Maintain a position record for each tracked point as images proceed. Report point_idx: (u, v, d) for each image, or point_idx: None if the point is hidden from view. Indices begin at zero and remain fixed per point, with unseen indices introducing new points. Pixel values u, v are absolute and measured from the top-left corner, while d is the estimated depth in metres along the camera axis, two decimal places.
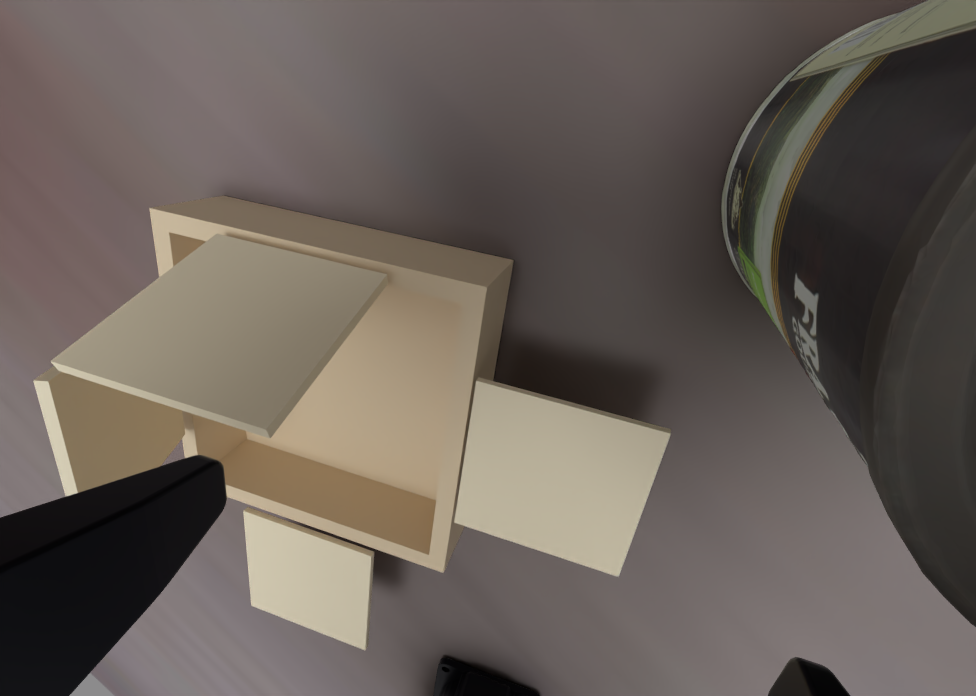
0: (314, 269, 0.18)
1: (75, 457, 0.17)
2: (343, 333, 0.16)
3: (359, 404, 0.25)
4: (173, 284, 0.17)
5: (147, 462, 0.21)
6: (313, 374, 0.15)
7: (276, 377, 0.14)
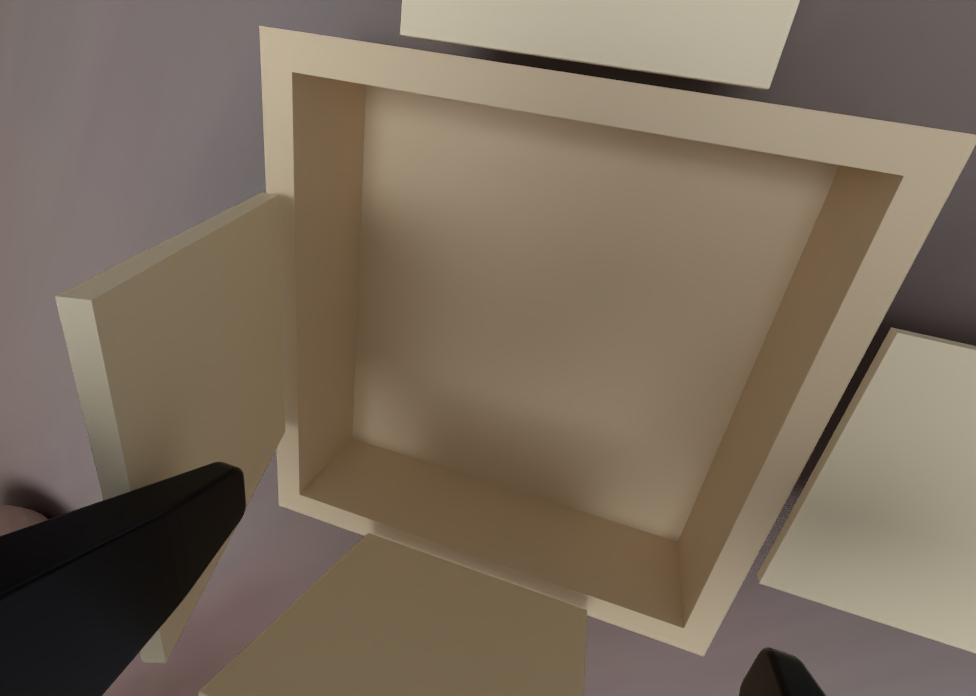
0: None
1: None
2: (209, 222, 0.10)
3: (596, 330, 0.15)
4: None
5: (546, 673, 0.12)
6: (164, 248, 0.08)
7: None
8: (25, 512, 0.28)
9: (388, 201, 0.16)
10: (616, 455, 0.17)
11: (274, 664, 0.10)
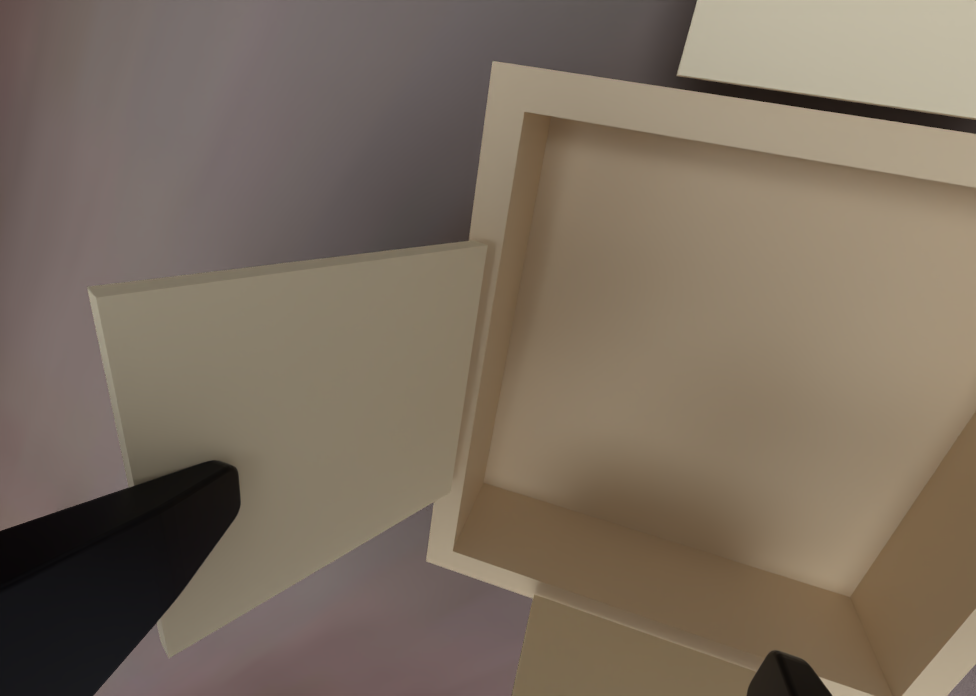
0: None
1: None
2: (357, 255, 0.09)
3: (788, 378, 0.14)
4: None
5: None
6: (263, 269, 0.08)
7: None
8: None
9: (560, 239, 0.14)
10: (791, 507, 0.16)
11: None
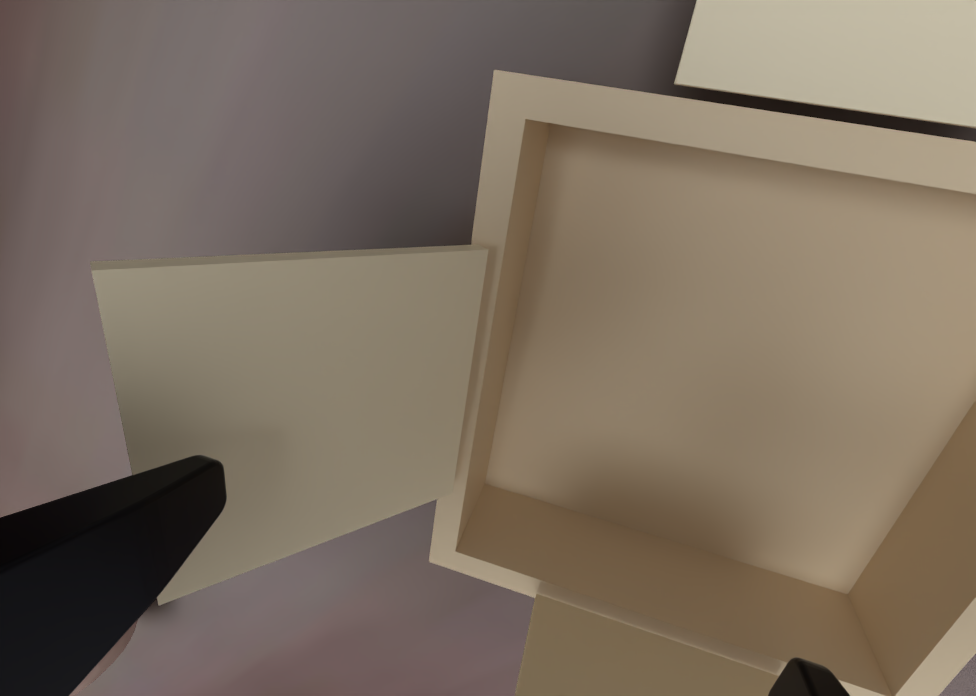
0: None
1: None
2: (349, 251, 0.10)
3: (785, 378, 0.14)
4: None
5: None
6: (252, 257, 0.09)
7: None
8: None
9: (560, 243, 0.15)
10: (788, 505, 0.16)
11: None
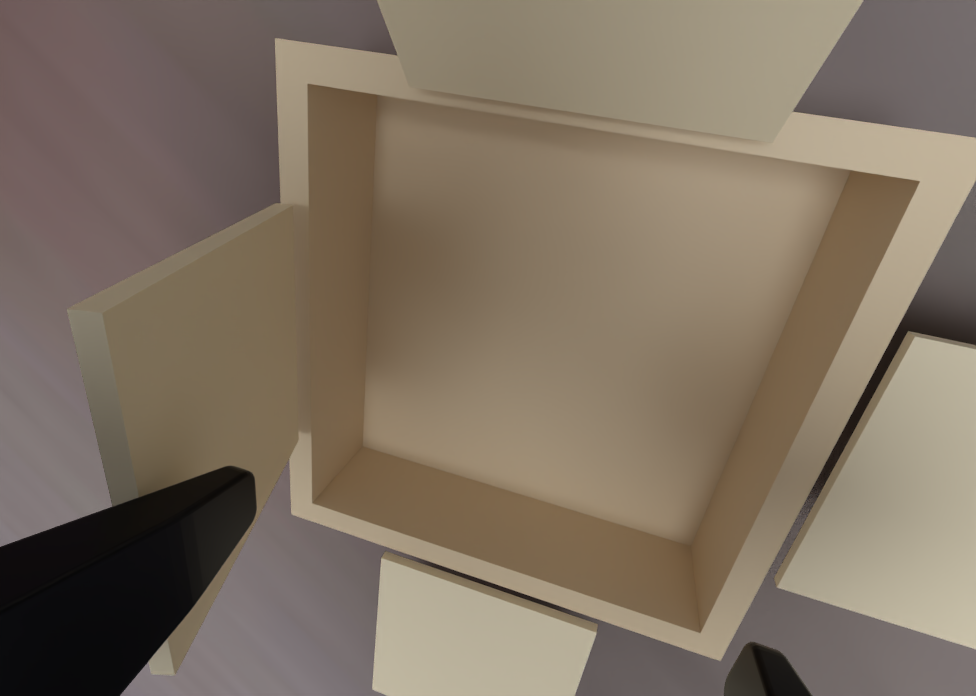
0: None
1: (151, 491, 0.08)
2: None
3: (557, 392, 0.17)
4: None
5: (256, 489, 0.12)
6: None
7: None
8: None
9: (704, 183, 0.13)
10: (434, 403, 0.18)
11: (163, 331, 0.07)
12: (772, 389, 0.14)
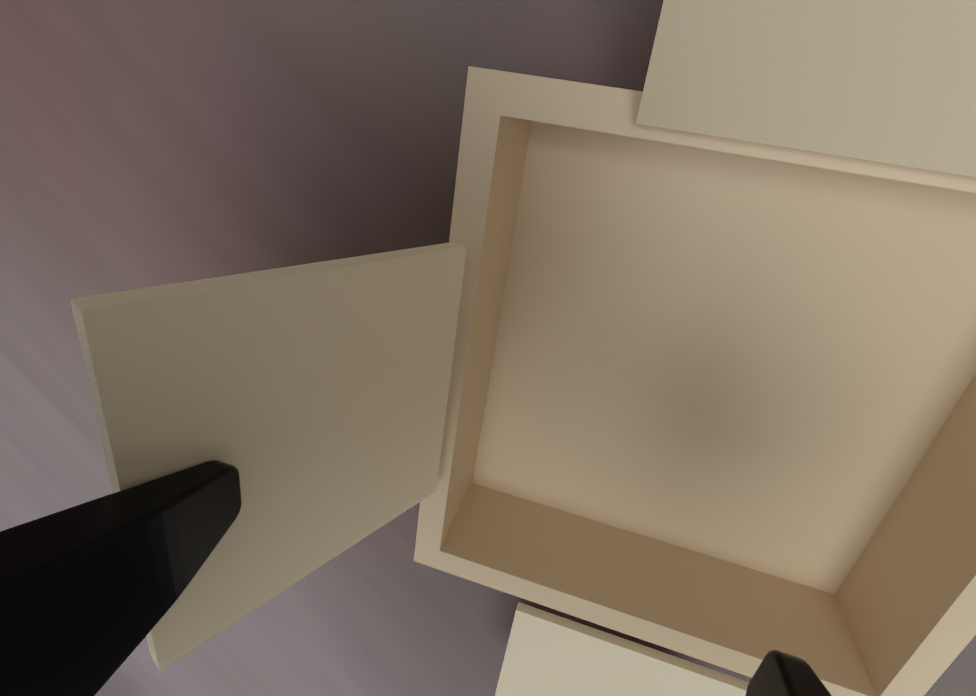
0: None
1: None
2: None
3: (702, 434, 0.16)
4: None
5: (341, 525, 0.12)
6: None
7: None
8: None
9: (903, 220, 0.12)
10: (559, 441, 0.17)
11: (190, 342, 0.07)
12: (967, 440, 0.13)
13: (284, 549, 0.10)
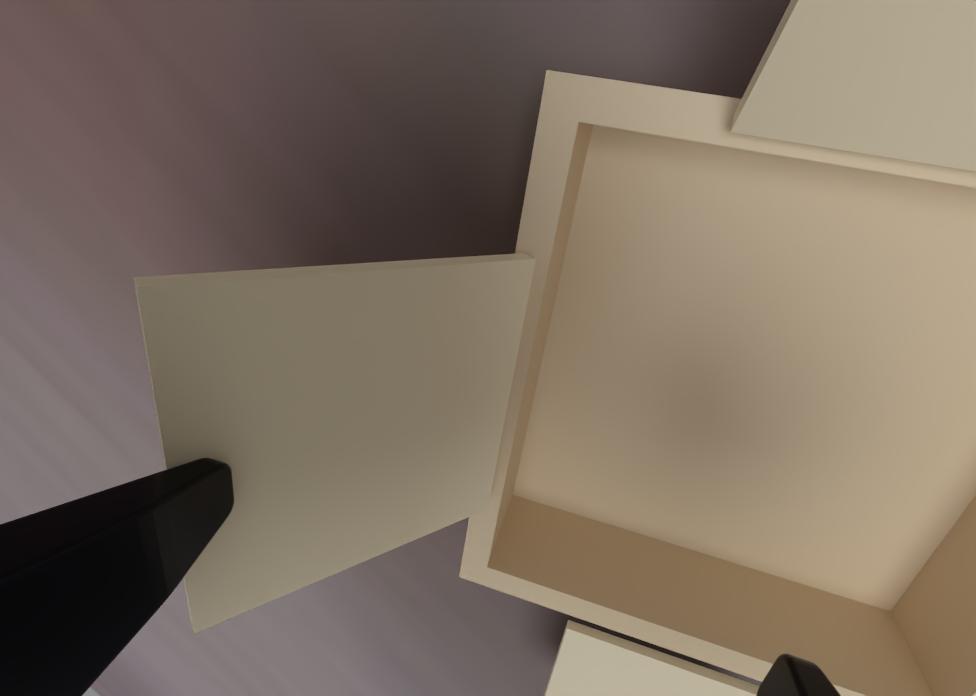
0: None
1: None
2: None
3: (758, 448, 0.15)
4: None
5: (381, 527, 0.12)
6: None
7: None
8: None
9: None
10: (606, 453, 0.17)
11: (236, 327, 0.08)
12: None
13: (321, 540, 0.11)
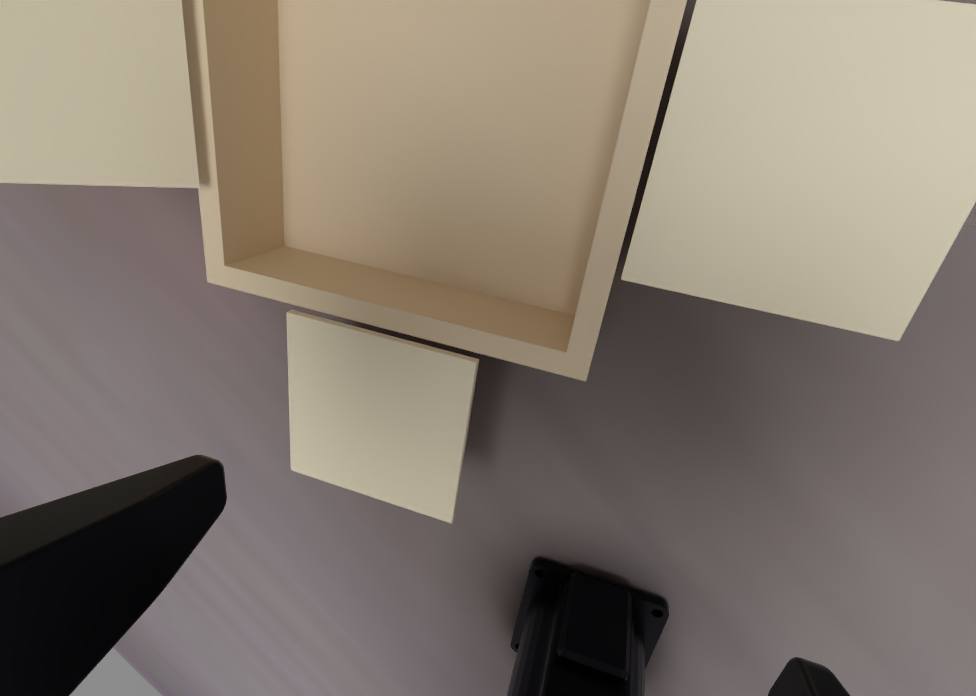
0: None
1: None
2: None
3: (451, 161, 0.18)
4: None
5: (69, 152, 0.14)
6: None
7: None
8: None
9: None
10: (344, 188, 0.19)
11: None
12: None
13: None
